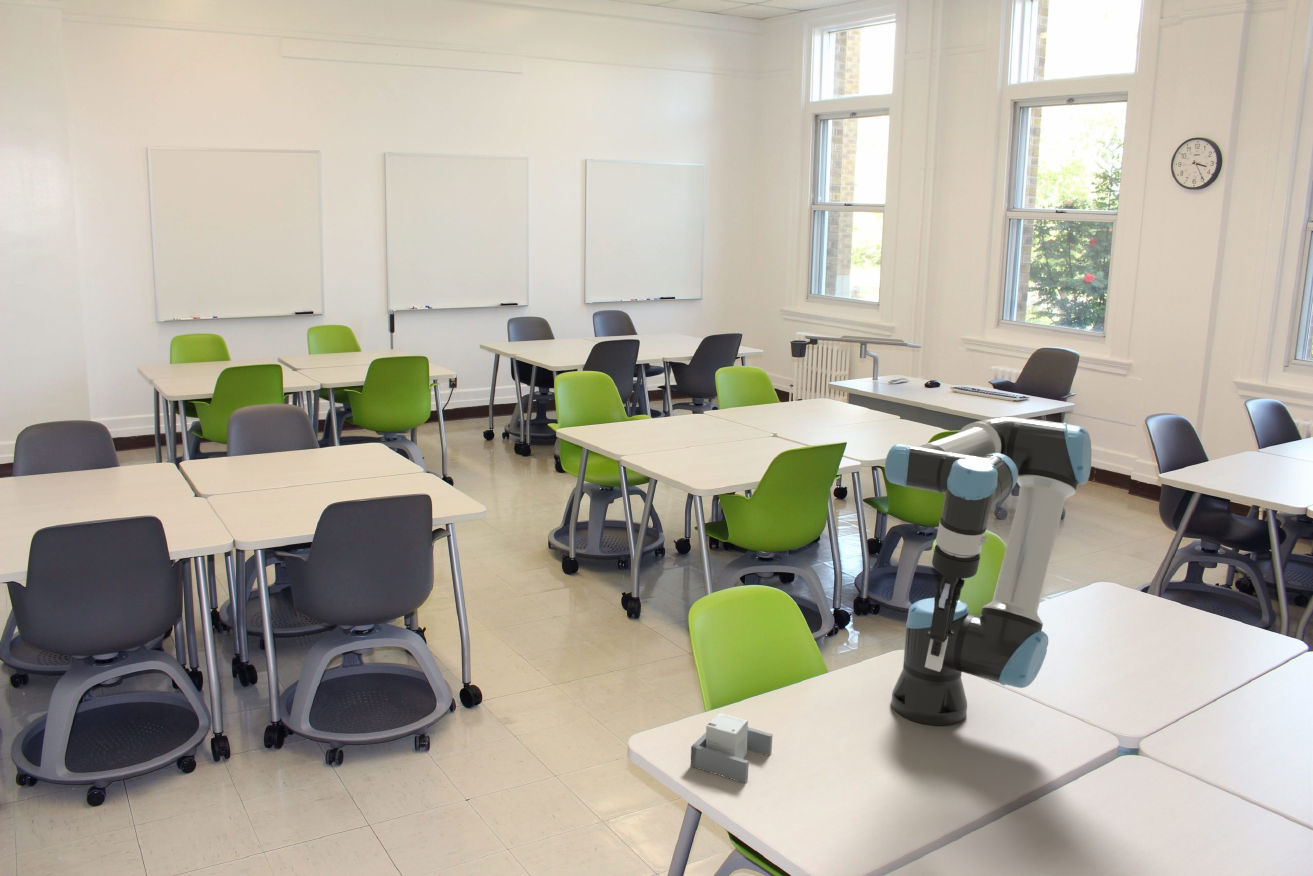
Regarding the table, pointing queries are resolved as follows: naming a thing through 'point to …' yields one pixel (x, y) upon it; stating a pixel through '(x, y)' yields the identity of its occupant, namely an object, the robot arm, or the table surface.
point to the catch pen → (728, 763)
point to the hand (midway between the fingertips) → (933, 667)
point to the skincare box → (727, 735)
